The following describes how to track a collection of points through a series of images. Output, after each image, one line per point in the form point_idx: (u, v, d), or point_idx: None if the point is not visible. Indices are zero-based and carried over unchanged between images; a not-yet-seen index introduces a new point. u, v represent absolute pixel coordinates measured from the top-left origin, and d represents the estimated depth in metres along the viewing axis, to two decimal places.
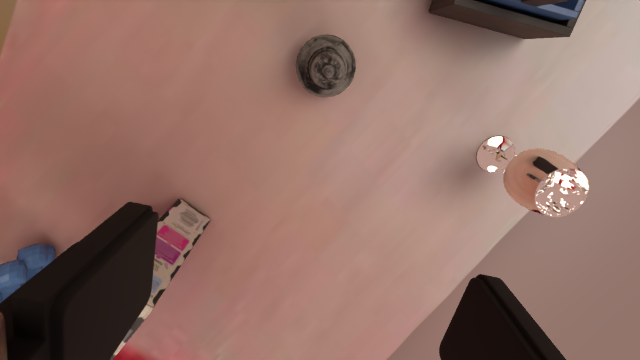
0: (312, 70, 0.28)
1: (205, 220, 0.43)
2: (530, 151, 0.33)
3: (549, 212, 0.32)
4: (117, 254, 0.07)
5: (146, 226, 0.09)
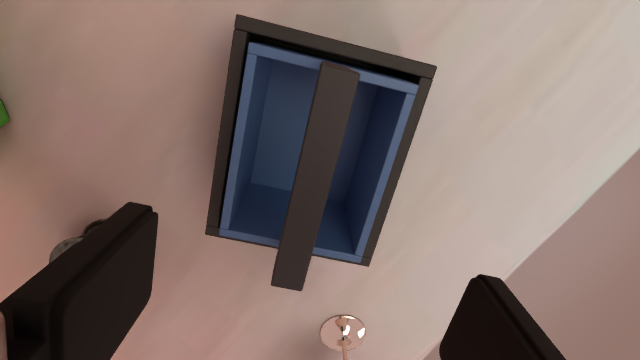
0: None
1: None
2: None
3: None
4: (117, 254, 0.07)
5: (146, 226, 0.09)
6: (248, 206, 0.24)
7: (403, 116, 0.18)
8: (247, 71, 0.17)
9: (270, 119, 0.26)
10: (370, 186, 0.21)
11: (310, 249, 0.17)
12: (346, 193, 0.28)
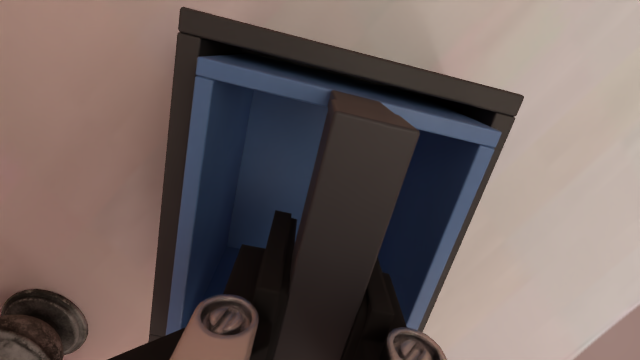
0: None
1: None
2: None
3: None
4: None
5: None
6: None
7: (471, 183, 0.10)
8: (196, 108, 0.10)
9: (253, 161, 0.18)
10: (405, 282, 0.13)
11: None
12: None
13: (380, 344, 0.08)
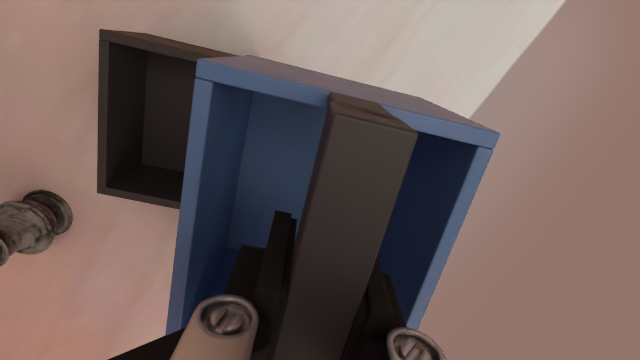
0: None
1: None
2: None
3: None
4: None
5: None
6: None
7: (470, 185, 0.10)
8: (196, 110, 0.10)
9: (253, 163, 0.18)
10: (404, 283, 0.13)
11: None
12: None
13: (380, 344, 0.08)
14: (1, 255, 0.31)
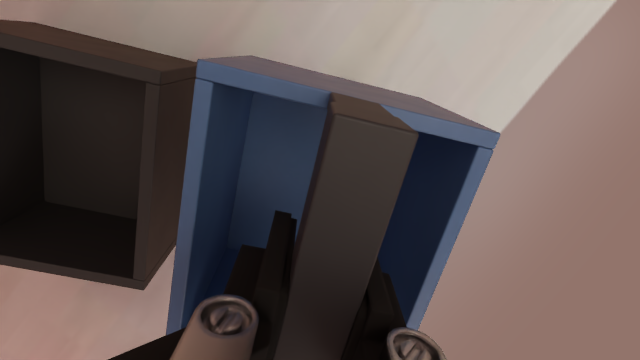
0: None
1: None
2: None
3: None
4: None
5: None
6: None
7: (470, 185, 0.10)
8: (197, 110, 0.10)
9: (253, 163, 0.18)
10: (405, 283, 0.13)
11: None
12: None
13: (380, 344, 0.08)
14: None
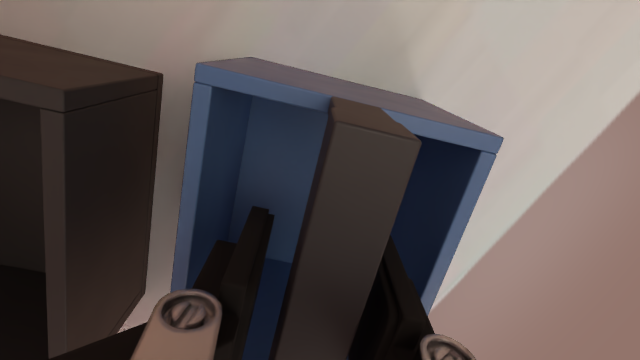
0: None
1: None
2: None
3: None
4: (265, 250, 0.09)
5: (271, 226, 0.10)
6: None
7: (473, 190, 0.10)
8: (195, 114, 0.09)
9: (253, 165, 0.18)
10: None
11: None
12: None
13: (410, 350, 0.08)
14: None
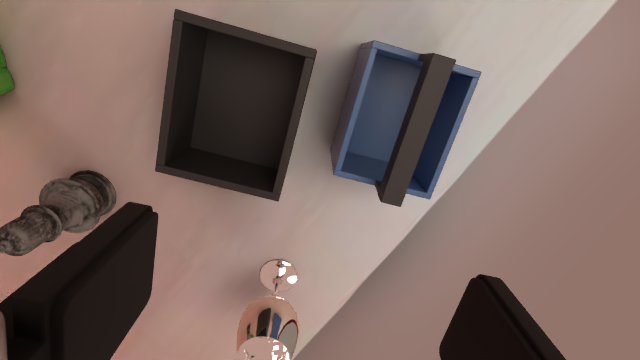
0: None
1: None
2: (257, 302, 0.33)
3: None
4: (117, 254, 0.07)
5: (146, 226, 0.09)
6: (344, 161, 0.32)
7: (469, 93, 0.27)
8: (369, 59, 0.26)
9: None
10: (439, 144, 0.30)
11: (410, 176, 0.25)
12: None
13: None
14: (55, 230, 0.31)
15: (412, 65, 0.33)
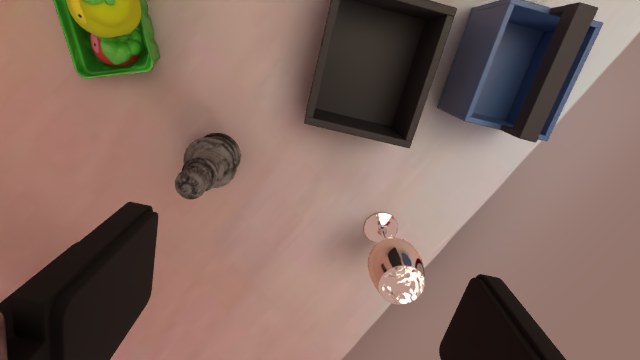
0: (175, 186, 0.32)
1: None
2: (385, 242, 0.37)
3: (400, 297, 0.37)
4: (117, 254, 0.07)
5: (146, 226, 0.09)
6: None
7: (591, 42, 0.31)
8: (507, 14, 0.30)
9: None
10: None
11: (548, 113, 0.29)
12: (508, 113, 0.40)
13: None
14: (212, 180, 0.35)
15: (518, 26, 0.37)
